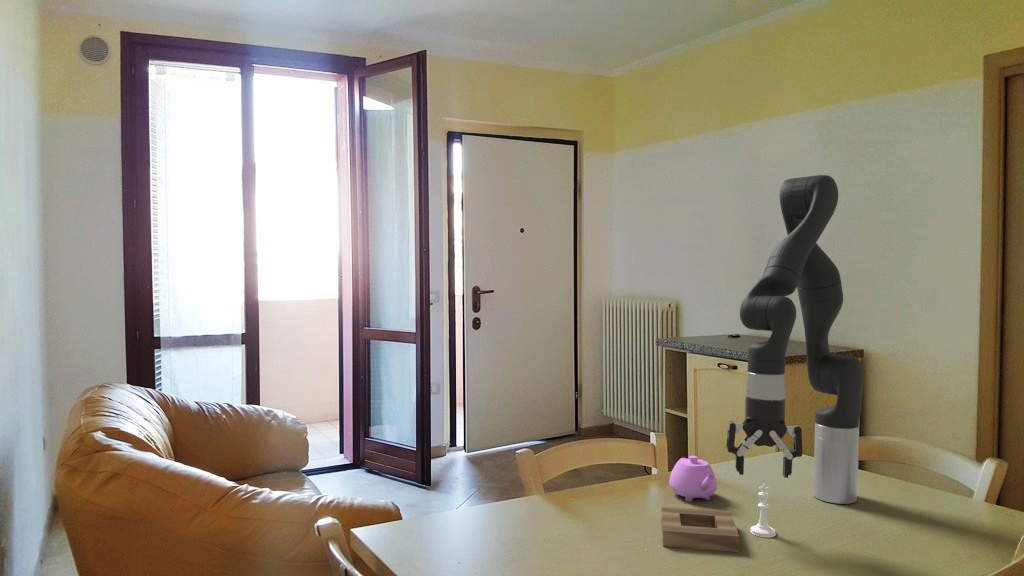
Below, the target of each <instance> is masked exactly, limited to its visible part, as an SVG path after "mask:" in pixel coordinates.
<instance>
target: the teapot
mask: <svg viewBox="0 0 1024 576" xmlns="http://www.w3.org/2000/svg"><path fill="white" fill-rule="evenodd" d="M668 484H669V486H670V488H671V489H672V491H673V492H674V493H675V495H676V496H682V497H685V498H684V501H687V502H693V501H694V498H697V499H698V498H701V499H702V500H706V501H709V500H711V496H713V495H714V494H715V493H716V492H717V490H718V482H717V477H716V474H715V472H714V470H713V468H712V466H711V464H710V463H709V462H708V461H706V460H703V459H700V458H699V456H697V455H689V456H688V458H686V457H681V458H680V459H679V460H678V461H677V462H676V463H675V464H674V466H673V469H672V470H671V473H670V475H669V482H668Z"/></svg>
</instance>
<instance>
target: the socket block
mask: <svg viewBox="0 0 1024 576" xmlns="http://www.w3.org/2000/svg"><path fill="white" fill-rule="evenodd" d="M660 517H661V520H660V521H661V533H662V534H661V539H662V547H665V548H667V547H669V548H670V547H671V548H681V549H694V550H695V549H696V550H705V551H706V550H707V551H709V550H710V551H719V552H720V551H722V552H731V553H732V552H733V553H735V552H736V553H739V552H740V534H739V532H738V531H739V530H738V528H737V526H736V523H735V520H734V516H733V514H732V511H731V510H723V509H721V510H720V509H705V508H703V509H702V508H689V507H688V508H687V507H677V506H676V507H675V506H661V516H660Z"/></svg>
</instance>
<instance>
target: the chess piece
mask: <svg viewBox="0 0 1024 576" xmlns="http://www.w3.org/2000/svg"><path fill="white" fill-rule="evenodd" d="M758 489H759V490H761V491H759V492H758V493H757V495H758V498H759V501H760V502H758V505H757V506H758V507H759V508H760V513H759V518H758V519H759V520H758V523H756V525H752V526H751V527H750V528H749V529H750V530H749V532H751V533H752V534H751V533H750V534H751V535H753V534H754V535H753V536H755V535H756V536H755V537H758V536H759V538H766V539H768V538H774V537H776V535H777V533H776V530H775V528H773V527H771V526H770V525H769V524H768V519H767V518H768V516H767V508H770V505H769V504H768V503H767V502H768V499H769V496H770V494H769V493H768V492H766V491H768V490H769V487H768V486H766V484H765V483H762V486H759V487H758Z"/></svg>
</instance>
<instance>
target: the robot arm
mask: <svg viewBox="0 0 1024 576" xmlns="http://www.w3.org/2000/svg"><path fill="white" fill-rule="evenodd" d="M838 202H839V189H838V184H837V182H836V181H835V179H834V178H833V177H832V176H830V175H828V174H827V175H826V174H823V175H822V174H816V175H810V176H802V177H792V178H787V179H785V180H783V182H782V183H781V185H780V189H779V205H780V210H781V216H782V219H783V222H784V226H785V230H786V233H787V235H786V236H785V237H784V238H782V240H781V241H780V242H779V243H778V244H777V245H776V247H775V248H774V249H773V251H772V252H771V254H770V256H769V258H768V261H767V263H766V266H765V268H764V270H763V274H762V276H760V278H759V279H758V280H757V282H756V283H755V284H754V285H753V286H752V287H751V289H750V290H749V292H748V293H747V294H746V295H745V297H744V299H743V300H742V302H741V305H740V309H739V318H740V321H741V323H742V324H743V326H744V327H745V328H747V329H749V330H755V331H765V332H766V331H767V332H771V334H770V336H769V338H768V340H766V341H757V342H753V343H751V344H750V345H749V346H748V351H747V375H746V381H745V400H744V401H745V405H744V406H745V407H744V409H745V410H744V412H745V413H744V420H743V423H741V422H734V421H733V420H730V421H729V422H728V424H727V436H726V446H725V448H726V450H727V452H728V453H730V454H734V455H735V470H736V472H738V474H739V475H740V476H741V475H742V476H744V473H745V471H744V469H745V468H744V467H745V456H744V454H745V453H746V452H747V450H749V449H750V448H751V447H752V446H753V445H755V446H757V447H763V446H766V447H769V448H771V447H772V448H773V447H774V446H777V447H778V448H779V450H780V451H781V452H782V453H783V455H784V456H783V457H782V476H783V477H784V478H786V479H788V478H789V476H791V475H792V473H793V460H794V459H795V458H797V457H798V458H801V457H802V456H803V431H802V430H803V429H802V428H801V426H799V424H794V425H786V423H785V422H786V421H785V419H786V396H787V391H786V390H787V388H786V386H787V385H786V374H785V373H786V353H787V348H788V345H789V341H790V337H791V334H792V331H793V329H794V327H795V322H796V318H797V308H796V304H795V303H794V301H793V300H792V299H791V298H789V297H787V296H790V295H792V294H794V292H796V290H797V294H798V300H799V305H800V310H801V316H802V322H803V324H802V325H803V330H804V339H805V351H806V366H807V367H806V368H807V369H806V370H807V377H808V381H809V384H810V386H811V388H812V389H813V390H814V391H816V392H818V393H822V394H828V395H833V396H837V397H836V403H835V404H834V405H832V406H830V407H829V406H827V407H823V408H819V409H817V410H816V411H815V416H814V451H813V452H814V458H813V459H814V460H813V463H814V464H813V465H814V467H813V496H814V498H816V499H818V500H821V501H823V502H827V503H830V504H831V503H832V504H841V505H842V504H843V505H847V504H848V505H849V504H854V503H856V502H857V501H858V471H859V431H860V430H859V428H860V417H861V413H862V405H863V403H862V402H863V393H864V392H863V391H864V381H865V379H864V378H865V376H864V373H865V372H864V368H863V367H864V366H863V363H862V362H861V361H860V359H859V358H857V357H856V356H849V355H840V354H831V352H830V347H829V333H830V331H831V328H832V325H833V324H834V322H835V321H836V318H837V317H838V315H839V314H840V312H841V309H842V307H843V304H844V293H843V286H842V280H841V274H840V272H839V269H838V268H837V266H836V264H835V263H834V261H833V260H832V259H831V258H830V257H829V255H827V253H826V252H825V251H824V250H823V249H822V248H821V247H820V246H819V244H818V243H817V242H818V240H819V239H820V237H821V236H822V235H823V233H824V230H825V229H826V227H827V225H828V224H829V222H830V220H831V219H832V217H833V215H834V213H835V211H836V209H837V206H838ZM741 430H743V432H744V433H745V436H744V438H743V439H742V440H741V442H740V443H739V445H737V446H735V442H736V441H735V440H736V434H739V433H740V431H741ZM787 433H789V435H790V436H791V437H792V439H793V441H792V442H793V443H792V444H793V449H790V450H789V448H788V447H787V446H786V445H785V443H784V442H783V440H782V438H784V436H785V435H786V434H787Z"/></svg>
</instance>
